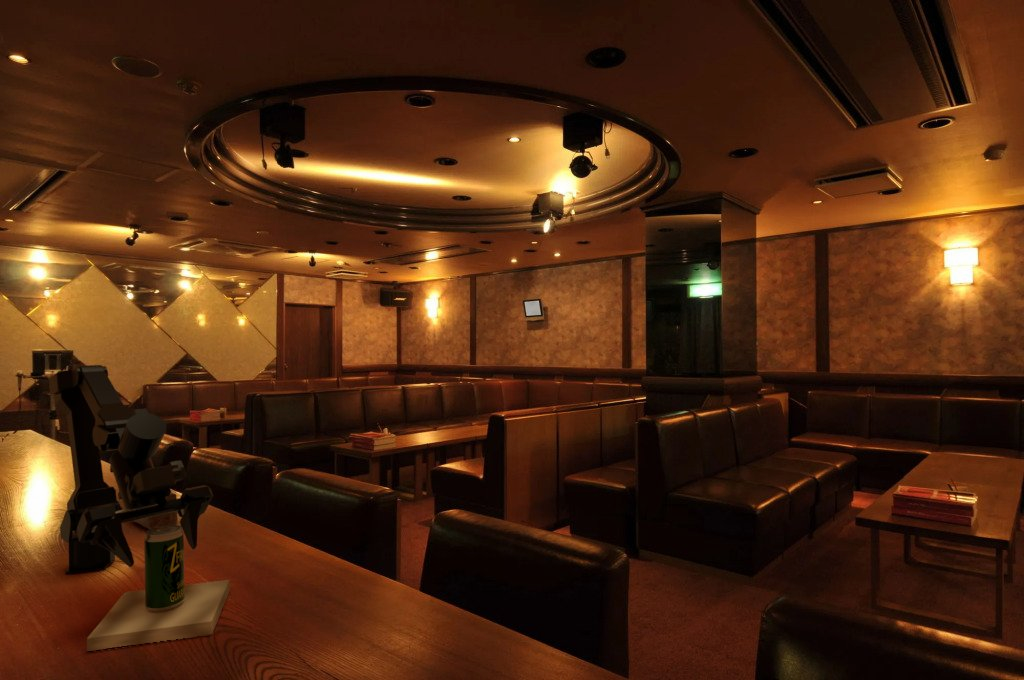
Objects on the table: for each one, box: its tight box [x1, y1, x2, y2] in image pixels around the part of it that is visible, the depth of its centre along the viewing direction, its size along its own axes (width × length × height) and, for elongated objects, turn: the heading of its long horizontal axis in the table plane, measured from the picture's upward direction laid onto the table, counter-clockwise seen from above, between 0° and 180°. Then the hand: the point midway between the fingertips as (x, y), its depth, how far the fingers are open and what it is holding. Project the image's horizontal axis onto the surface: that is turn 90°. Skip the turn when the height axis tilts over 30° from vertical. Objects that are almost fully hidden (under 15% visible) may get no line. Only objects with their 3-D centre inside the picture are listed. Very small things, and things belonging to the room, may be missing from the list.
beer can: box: [143, 524, 185, 612], centre depth 94 cm, size 5×5×12 cm
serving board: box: [86, 579, 231, 652], centre depth 94 cm, size 16×16×2 cm
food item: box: [132, 491, 179, 530], centre depth 143 cm, size 14×8×10 cm, turn 50°
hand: (164, 556), depth 94 cm, fingers open, 9 cm apart
